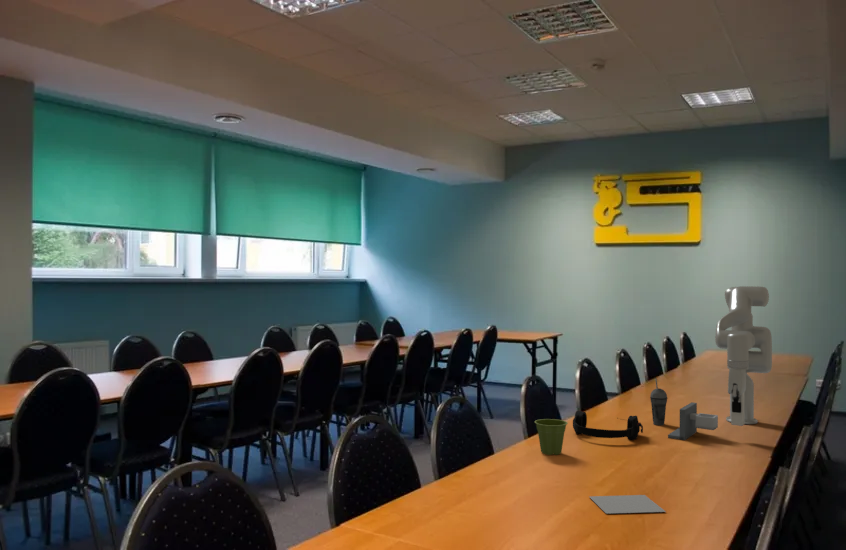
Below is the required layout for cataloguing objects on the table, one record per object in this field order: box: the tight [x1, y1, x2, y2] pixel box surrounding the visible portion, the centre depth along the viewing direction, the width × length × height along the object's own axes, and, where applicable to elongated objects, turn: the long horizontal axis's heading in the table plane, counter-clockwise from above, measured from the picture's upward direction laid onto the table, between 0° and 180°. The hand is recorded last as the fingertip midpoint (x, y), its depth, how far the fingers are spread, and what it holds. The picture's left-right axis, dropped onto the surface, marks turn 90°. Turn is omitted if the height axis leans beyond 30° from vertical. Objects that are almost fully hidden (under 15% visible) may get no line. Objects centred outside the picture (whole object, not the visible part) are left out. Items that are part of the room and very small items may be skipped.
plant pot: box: [534, 418, 569, 456], centre depth 241 cm, size 12×12×11 cm
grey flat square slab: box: [588, 494, 667, 514], centre depth 190 cm, size 23×25×1 cm
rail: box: [730, 389, 745, 427], centre depth 259 cm, size 4×4×14 cm
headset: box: [572, 410, 644, 441], centre depth 267 cm, size 28×26×9 cm
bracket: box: [667, 402, 719, 441], centre depth 266 cm, size 18×16×12 cm
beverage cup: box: [649, 378, 669, 426], centre depth 289 cm, size 7×7×20 cm
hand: (737, 410), depth 259 cm, fingers closed on rail, 4 cm apart
